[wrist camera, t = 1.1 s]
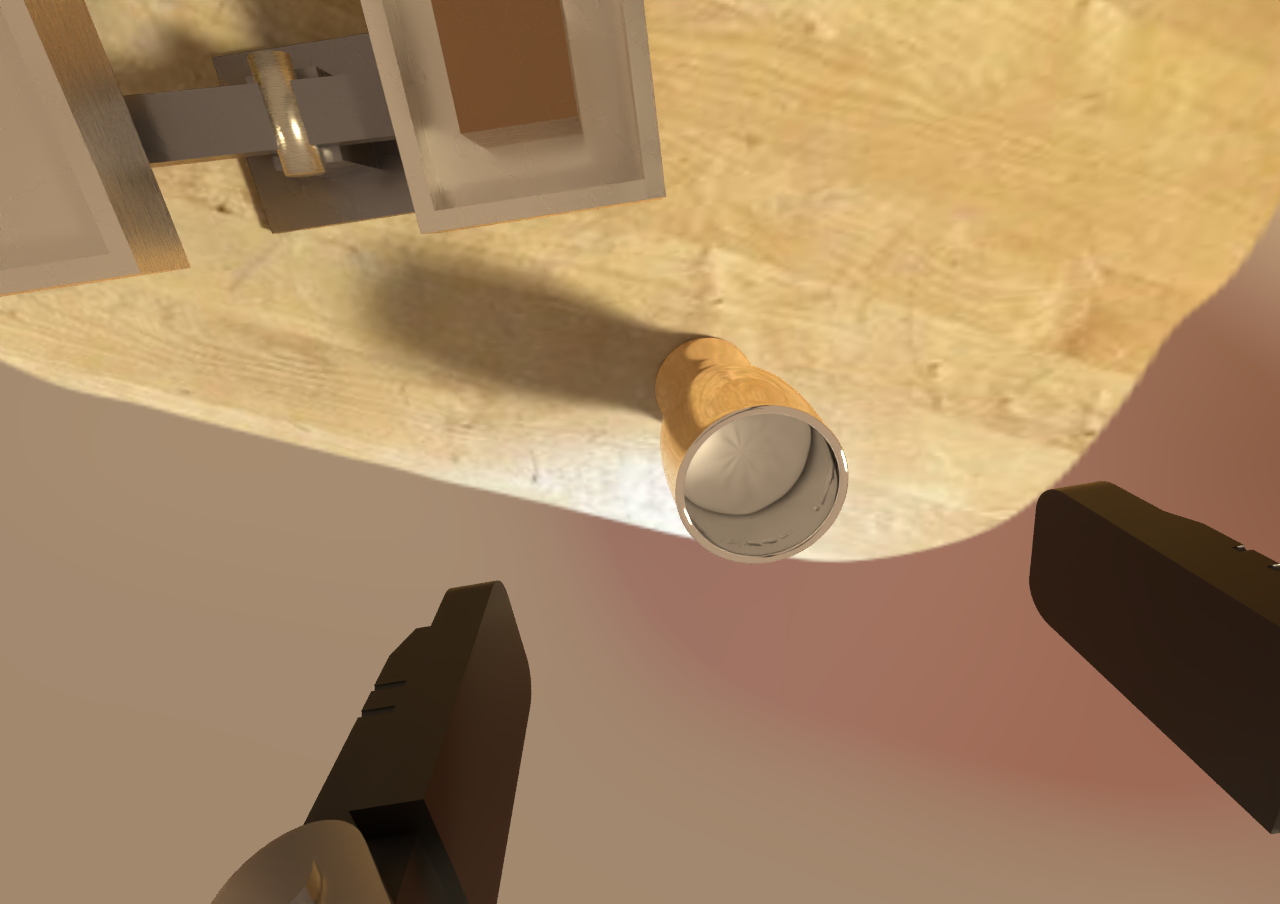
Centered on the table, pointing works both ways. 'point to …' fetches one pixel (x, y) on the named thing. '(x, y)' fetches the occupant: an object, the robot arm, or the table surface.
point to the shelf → (324, 129)
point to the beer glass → (745, 455)
